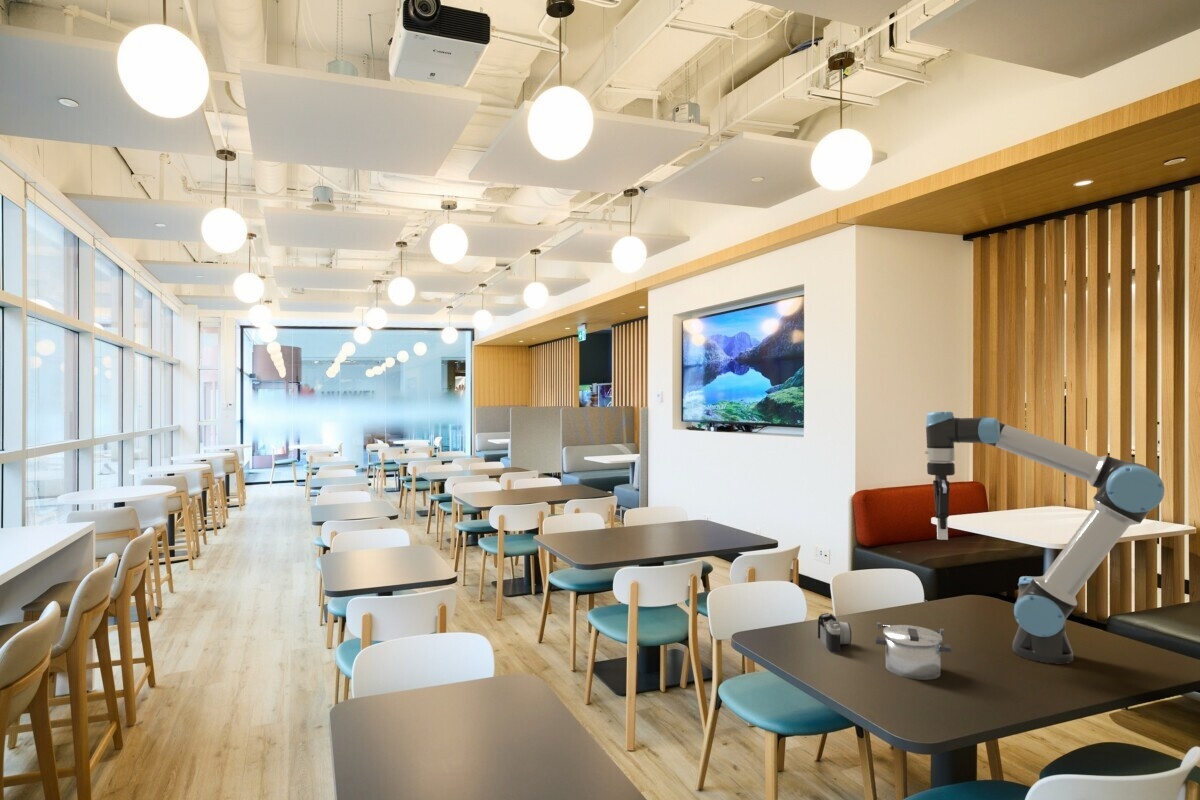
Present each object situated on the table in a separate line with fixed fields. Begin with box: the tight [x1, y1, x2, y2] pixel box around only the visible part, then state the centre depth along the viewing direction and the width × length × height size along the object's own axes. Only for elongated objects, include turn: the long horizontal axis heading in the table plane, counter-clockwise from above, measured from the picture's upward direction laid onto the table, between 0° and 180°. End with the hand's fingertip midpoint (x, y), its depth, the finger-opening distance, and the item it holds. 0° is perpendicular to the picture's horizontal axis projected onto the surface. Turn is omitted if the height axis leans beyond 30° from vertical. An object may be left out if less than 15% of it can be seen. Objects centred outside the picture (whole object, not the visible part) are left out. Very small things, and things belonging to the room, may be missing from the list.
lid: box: [881, 624, 943, 647], centre depth 189 cm, size 16×15×3 cm
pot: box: [875, 621, 952, 681], centre depth 189 cm, size 16×19×10 cm
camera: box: [817, 612, 852, 654], centre depth 209 cm, size 16×9×10 cm, turn 175°
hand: (942, 539), depth 205 cm, fingers closed
